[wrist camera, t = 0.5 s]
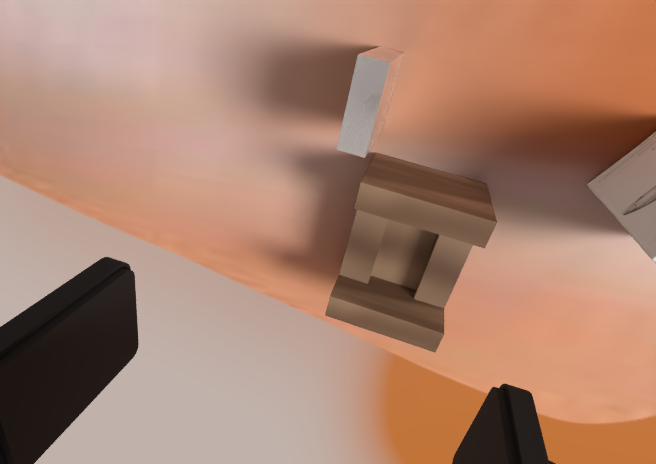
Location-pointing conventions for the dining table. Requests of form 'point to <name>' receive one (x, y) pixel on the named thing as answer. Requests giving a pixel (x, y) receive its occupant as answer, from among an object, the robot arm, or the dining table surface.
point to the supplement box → (632, 193)
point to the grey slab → (369, 99)
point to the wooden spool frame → (408, 249)
